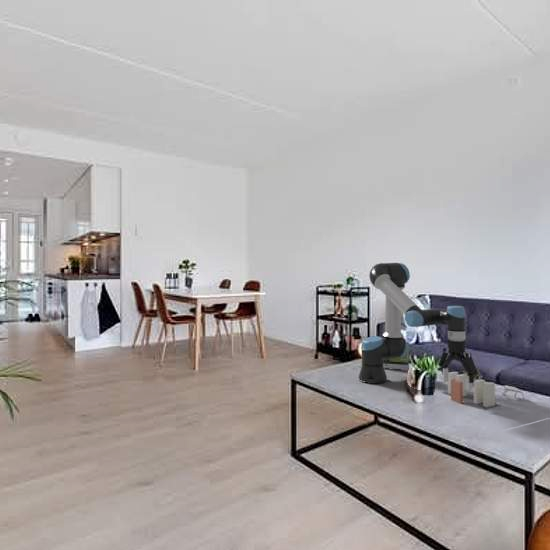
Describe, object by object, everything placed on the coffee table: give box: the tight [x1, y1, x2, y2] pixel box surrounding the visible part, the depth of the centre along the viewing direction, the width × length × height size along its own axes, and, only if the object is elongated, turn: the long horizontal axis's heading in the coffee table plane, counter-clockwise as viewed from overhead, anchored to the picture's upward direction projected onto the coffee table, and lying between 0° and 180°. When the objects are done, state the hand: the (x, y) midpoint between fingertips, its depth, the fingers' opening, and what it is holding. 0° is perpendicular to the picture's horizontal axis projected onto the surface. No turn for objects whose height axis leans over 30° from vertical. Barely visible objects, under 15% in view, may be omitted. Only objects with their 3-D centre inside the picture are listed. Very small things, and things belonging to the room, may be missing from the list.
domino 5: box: [483, 381, 496, 407], centre depth 179 cm, size 2×5×10 cm, turn 114°
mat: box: [441, 390, 502, 410], centre depth 188 cm, size 25×10×1 cm, turn 24°
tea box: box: [383, 343, 410, 371], centre depth 246 cm, size 15×10×15 cm, turn 66°
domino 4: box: [473, 378, 486, 404], centre depth 184 cm, size 2×5×10 cm, turn 114°
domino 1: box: [447, 371, 459, 394], centre depth 197 cm, size 2×5×10 cm, turn 114°
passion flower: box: [460, 369, 483, 387], centre depth 211 cm, size 11×11×12 cm
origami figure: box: [501, 385, 525, 402], centre depth 188 cm, size 12×8×5 cm
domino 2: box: [456, 373, 468, 396], centre depth 193 cm, size 2×5×10 cm, turn 114°
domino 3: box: [450, 379, 464, 404], centre depth 185 cm, size 2×5×10 cm, turn 24°
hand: (457, 385), depth 184 cm, fingers open, 13 cm apart
